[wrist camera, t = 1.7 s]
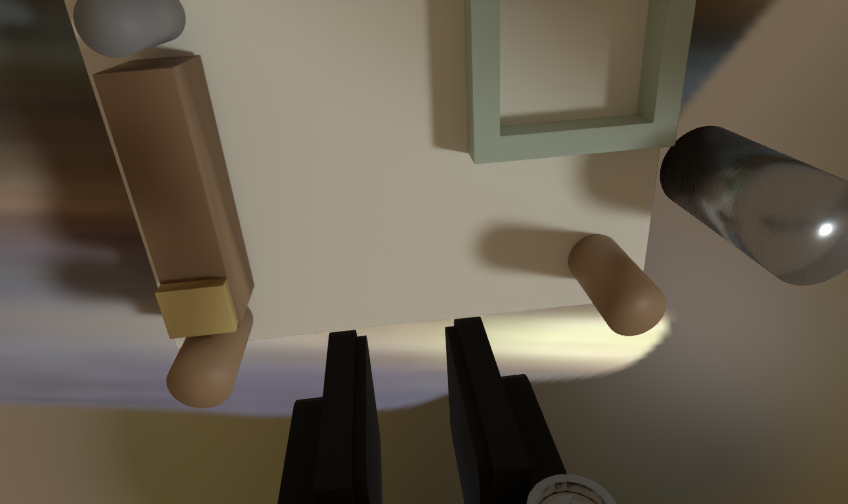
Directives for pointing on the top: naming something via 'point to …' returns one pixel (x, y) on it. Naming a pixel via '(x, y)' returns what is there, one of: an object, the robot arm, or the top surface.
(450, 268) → the seat board
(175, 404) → the top surface
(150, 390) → the top surface
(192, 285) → the hinged leg
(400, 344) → the top surface
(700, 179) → the leg peg
